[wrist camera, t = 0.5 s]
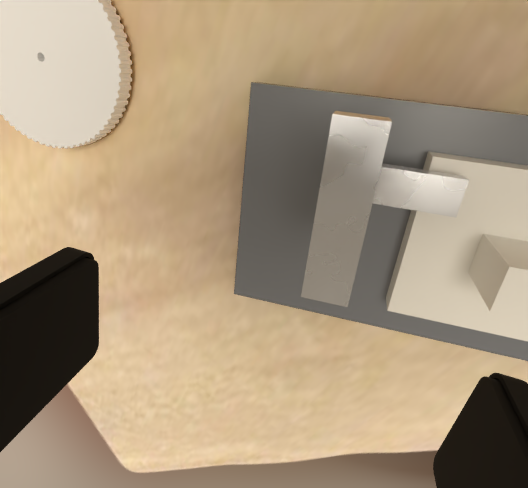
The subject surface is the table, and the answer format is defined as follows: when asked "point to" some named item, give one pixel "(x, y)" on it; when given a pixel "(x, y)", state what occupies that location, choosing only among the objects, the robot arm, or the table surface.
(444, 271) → the cover
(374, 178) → the t key
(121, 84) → the plastic lid
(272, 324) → the table surface
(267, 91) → the base
